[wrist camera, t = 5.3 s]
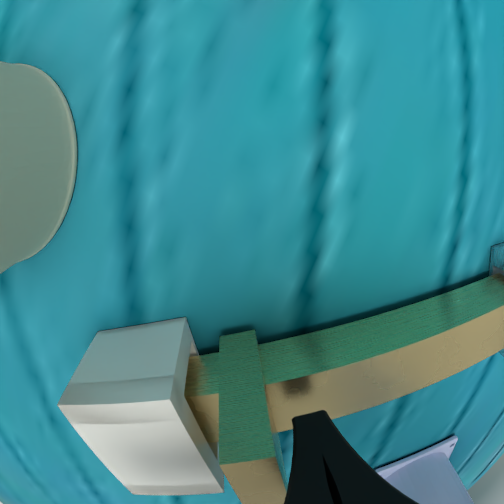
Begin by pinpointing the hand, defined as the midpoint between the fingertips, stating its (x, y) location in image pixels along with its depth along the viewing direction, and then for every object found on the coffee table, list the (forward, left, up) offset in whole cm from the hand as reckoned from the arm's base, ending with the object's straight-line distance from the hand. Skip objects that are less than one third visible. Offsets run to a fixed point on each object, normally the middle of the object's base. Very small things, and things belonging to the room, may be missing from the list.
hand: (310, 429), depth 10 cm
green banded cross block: (0, -2, -5) cm, 5 cm away
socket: (0, +6, -5) cm, 8 cm away
